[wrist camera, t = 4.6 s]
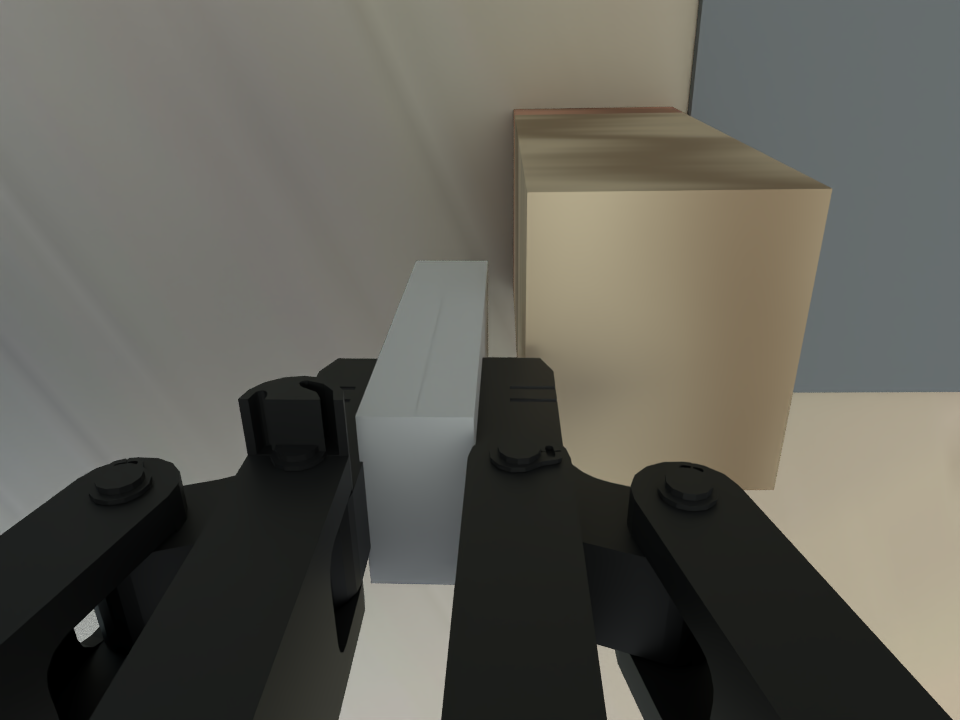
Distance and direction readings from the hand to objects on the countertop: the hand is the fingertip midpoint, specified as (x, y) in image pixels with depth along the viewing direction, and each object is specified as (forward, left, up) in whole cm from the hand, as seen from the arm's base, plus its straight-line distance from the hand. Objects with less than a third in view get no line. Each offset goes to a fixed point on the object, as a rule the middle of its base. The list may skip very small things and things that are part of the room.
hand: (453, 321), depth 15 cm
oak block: (+4, 0, -10) cm, 11 cm away
